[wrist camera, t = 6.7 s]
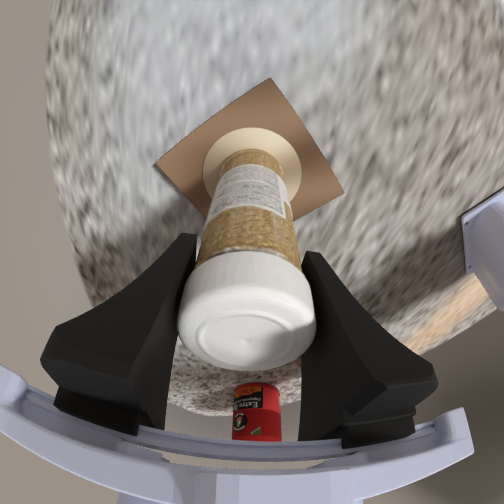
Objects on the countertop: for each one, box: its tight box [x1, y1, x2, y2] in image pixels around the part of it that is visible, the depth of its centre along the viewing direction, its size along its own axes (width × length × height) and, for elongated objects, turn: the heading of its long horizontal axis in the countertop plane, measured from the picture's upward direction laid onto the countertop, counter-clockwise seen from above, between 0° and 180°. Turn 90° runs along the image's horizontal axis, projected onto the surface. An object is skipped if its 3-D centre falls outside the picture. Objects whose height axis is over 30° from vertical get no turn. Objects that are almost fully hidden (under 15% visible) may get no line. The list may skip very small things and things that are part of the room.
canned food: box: [232, 383, 282, 442], centre depth 38 cm, size 8×8×11 cm
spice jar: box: [177, 149, 316, 371], centre depth 14 cm, size 5×5×13 cm
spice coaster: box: [156, 78, 344, 221], centre depth 19 cm, size 10×10×1 cm
